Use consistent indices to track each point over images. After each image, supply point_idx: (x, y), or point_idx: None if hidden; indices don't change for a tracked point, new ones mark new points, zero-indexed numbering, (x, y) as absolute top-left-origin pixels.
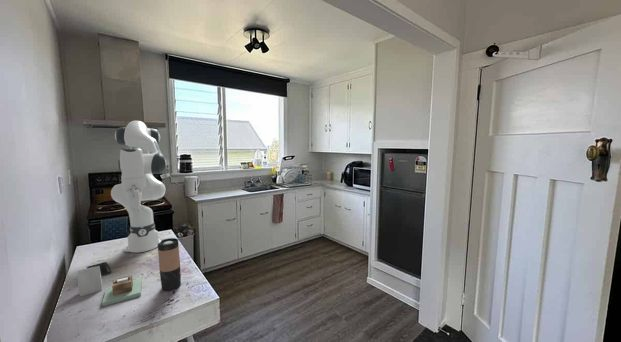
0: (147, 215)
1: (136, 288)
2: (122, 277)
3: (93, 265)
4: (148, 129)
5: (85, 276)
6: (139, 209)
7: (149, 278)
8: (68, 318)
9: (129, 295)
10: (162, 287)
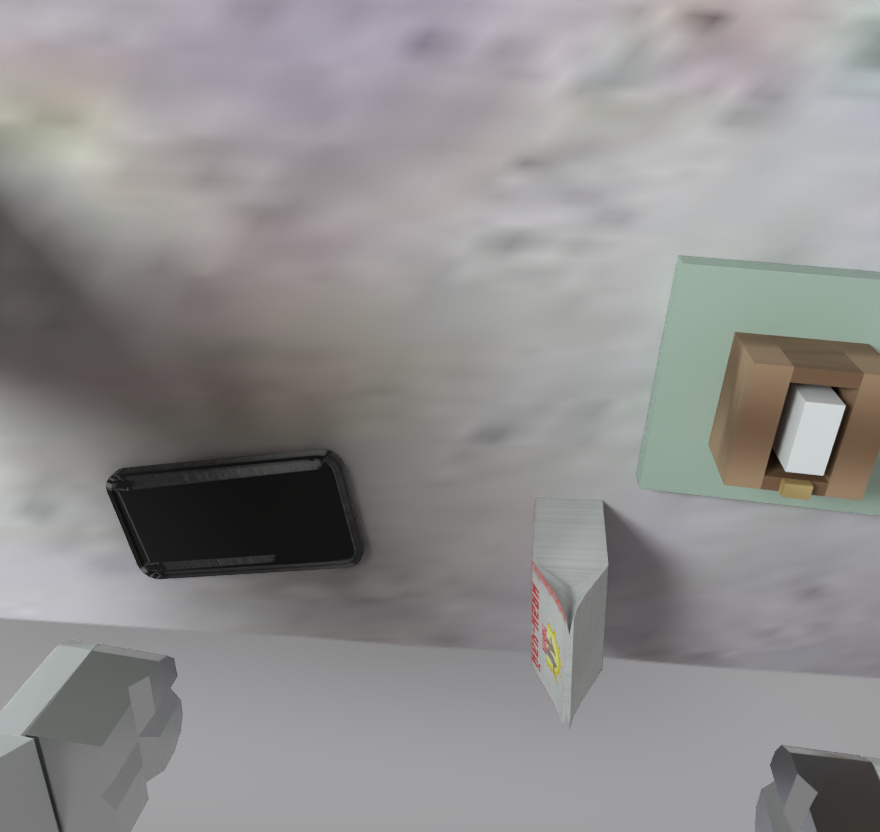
0: None
1: (852, 311)
2: (741, 431)
3: (135, 545)
4: None
5: (591, 657)
6: (113, 690)
7: (654, 192)
8: (851, 635)
9: None
10: None
